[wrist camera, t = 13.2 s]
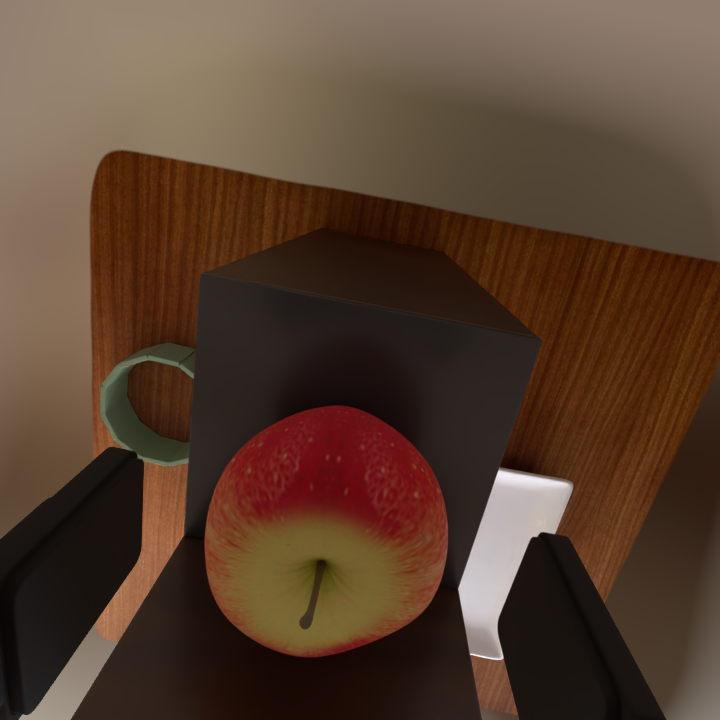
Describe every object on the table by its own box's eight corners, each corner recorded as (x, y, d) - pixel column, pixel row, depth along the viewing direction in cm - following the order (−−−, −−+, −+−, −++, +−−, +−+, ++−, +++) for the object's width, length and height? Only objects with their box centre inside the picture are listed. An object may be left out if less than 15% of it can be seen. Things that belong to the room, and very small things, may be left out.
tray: (390, 620, 68) (390, 641, 65) (438, 442, 58) (441, 457, 55) (498, 641, 69) (504, 663, 65) (566, 466, 58) (577, 482, 55)
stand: (320, 228, 50) (-10, 352, 9) (444, 252, 50) (712, 492, 9) (303, 345, 55) (35, 794, 13) (416, 367, 55) (501, 883, 13)
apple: (448, 382, 19) (509, 564, 9) (418, 544, 22) (441, 808, 12) (254, 359, 19) (122, 514, 10) (249, 522, 22) (144, 766, 12)
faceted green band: (104, 360, 57) (78, 374, 52) (205, 330, 55) (188, 342, 50) (152, 455, 61) (132, 476, 56) (248, 431, 59) (235, 450, 54)
